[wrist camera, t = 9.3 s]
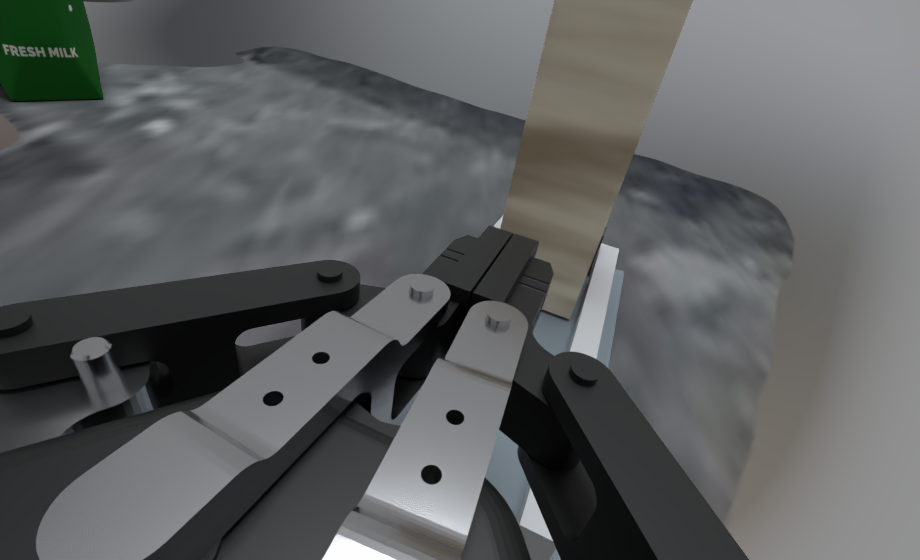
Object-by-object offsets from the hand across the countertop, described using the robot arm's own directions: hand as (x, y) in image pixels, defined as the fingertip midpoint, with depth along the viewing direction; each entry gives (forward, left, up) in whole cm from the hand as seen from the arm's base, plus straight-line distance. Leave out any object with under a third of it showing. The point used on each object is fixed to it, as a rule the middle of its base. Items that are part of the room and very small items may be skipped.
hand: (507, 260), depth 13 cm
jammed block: (+10, +7, -8) cm, 14 cm away
